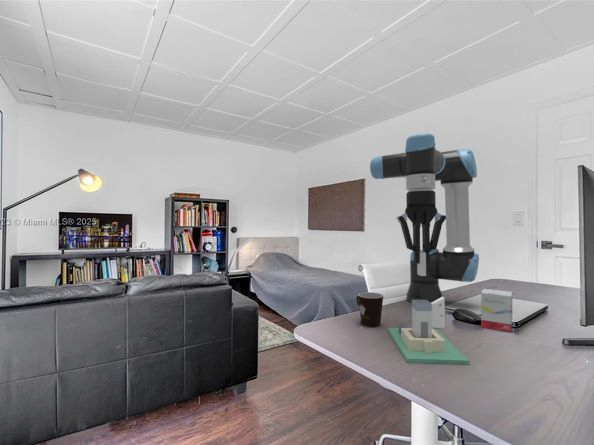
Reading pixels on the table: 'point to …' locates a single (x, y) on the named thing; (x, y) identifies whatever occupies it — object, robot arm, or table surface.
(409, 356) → the board
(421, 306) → the plug
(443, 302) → the white wedge bracket
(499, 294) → the ink box
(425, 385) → the table surface
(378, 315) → the coffee mug
